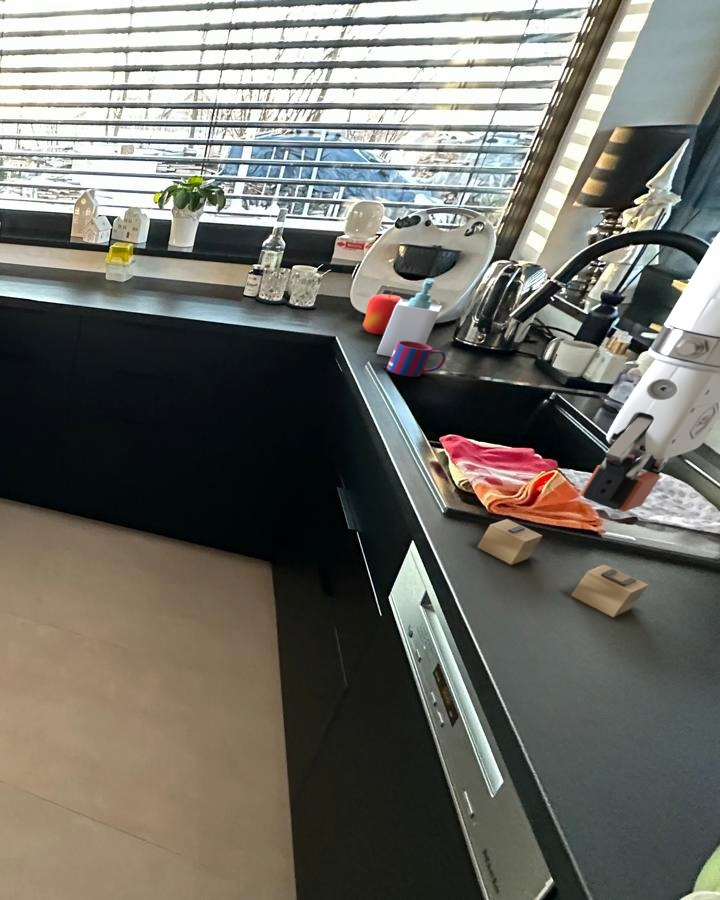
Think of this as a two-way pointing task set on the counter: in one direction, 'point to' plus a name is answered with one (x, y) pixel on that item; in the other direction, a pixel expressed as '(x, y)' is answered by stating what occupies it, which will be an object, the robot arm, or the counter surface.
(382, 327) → the apple
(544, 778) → the counter surface
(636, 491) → the block
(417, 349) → the mug
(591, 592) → the block
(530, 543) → the block
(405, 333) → the soap bottle
